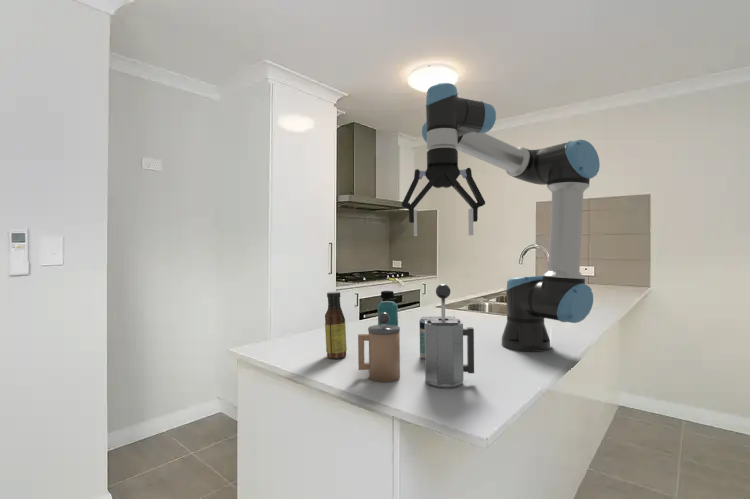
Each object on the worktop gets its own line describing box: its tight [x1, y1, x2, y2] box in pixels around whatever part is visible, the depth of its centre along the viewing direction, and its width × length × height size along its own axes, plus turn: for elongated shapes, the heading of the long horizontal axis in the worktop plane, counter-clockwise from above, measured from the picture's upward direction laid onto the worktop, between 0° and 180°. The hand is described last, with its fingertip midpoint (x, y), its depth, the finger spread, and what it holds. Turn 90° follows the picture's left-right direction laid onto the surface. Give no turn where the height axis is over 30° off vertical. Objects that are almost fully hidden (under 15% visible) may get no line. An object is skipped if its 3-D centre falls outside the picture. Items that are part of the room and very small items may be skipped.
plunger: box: [435, 283, 451, 320], centre depth 100 cm, size 6×6×20 cm
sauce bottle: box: [324, 291, 348, 360], centre depth 124 cm, size 6×6×20 cm
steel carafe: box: [424, 316, 475, 390], centre depth 100 cm, size 12×9×16 cm
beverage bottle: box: [377, 290, 399, 327], centre depth 124 cm, size 6×7×20 cm
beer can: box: [419, 316, 431, 360], centre depth 121 cm, size 5×5×12 cm
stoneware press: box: [357, 312, 401, 383], centre depth 104 cm, size 11×8×17 cm
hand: (443, 235), depth 100 cm, fingers open, 13 cm apart
